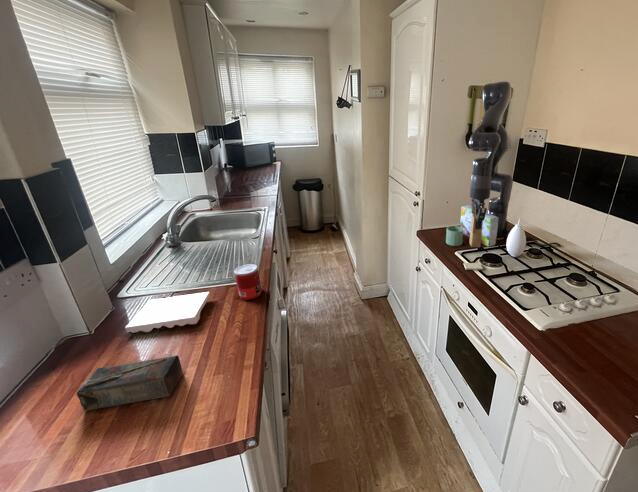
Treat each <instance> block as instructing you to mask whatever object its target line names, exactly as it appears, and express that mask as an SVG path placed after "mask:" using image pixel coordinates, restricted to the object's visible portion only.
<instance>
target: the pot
mask: <svg viewBox="0 0 638 492" xmlns="http://www.w3.org/2000/svg"><path fill="white" fill-rule="evenodd" d="M445 230H446V233H445V243H446V244H447V245H448V246H451V247H459V246H461V245H463V243H464V242H463V241H464V234H463V231H464V229H463V228H462V227H460V225H449V226H447V227H446V228H445Z"/></svg>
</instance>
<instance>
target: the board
mask: <svg viewBox="0 0 638 492" xmlns="http://www.w3.org/2000/svg"><path fill="white" fill-rule="evenodd" d="M462 265H463V267H464V269H465V271H483V270H484V268H483V266H482V264H481V263H480V262H463V264H462Z"/></svg>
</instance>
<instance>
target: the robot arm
mask: <svg viewBox="0 0 638 492" xmlns="http://www.w3.org/2000/svg"><path fill="white" fill-rule="evenodd" d="M481 93H482V94H481V95H482V105H483V112H484V113H483V114H482V116H481V119H480V123H479V125H478V127H477V128H476V129H475V130H474V131H473V133H472V134H471V136H470V138H469V142H468V146H469V148H470V150H471V151H472V152H476V153H477V152H481V153H486V155H485V156H483V157H476V158H473V159H474V160H473V161H472V169H471V170H472V171H471V176H470V177H471V178H470V184H469V187H470V188H469V197H470V198H471V200H470V201H471V207H472V213H473V214H476V223H475V229H481V224H482V221H484V219H485V215H486V213H489V214H491V215H494V216H496V217H498V227H497V236H496V241H501V240H507V236H508V235H509V233H510V231H511V230H512V229H510V228H509V226H508V223H509V222H508V220H507V218H508V212H509V211H508V210H509V204H510V200H511V194H512V189H513V185H514V184H513V183H514V178H513V176H512V175H511V174H508V173H501V172H499V171H498V170H499V169H498V167H499V163H500V161H501V160H502V159H503V157H504V156H505V154H506V153H507V150H508V147H509V135H508V131H507V130H506V128H505V127H504V125H503V124H502V123H501V120H502V117H503V115H504V113H505V111H506V110H507V107H508V106H509V103H510V101H511V98H512V86H511V83H510V82H509V81H504V80H503V81H497V82H490V83H485V84H484V85H483V86H482V92H481ZM491 191H492V192H496V193H499V196H494V197H491ZM490 197H491V198H490ZM486 200H488V205H487V207H486V203H485V201H486ZM474 208H475V209H474ZM480 216H481V217H480ZM526 240H533V241H534V243H535V244H536V245H537V246H540V247H548V246H553V245H556V246H558V247H562V245H561V244H560V243H559V242H549V243H545V244H544V243H539V242H538V241H537V239H536V238H534V237H531V236H526ZM558 243H559V244H558Z"/></svg>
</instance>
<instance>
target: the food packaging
mask: <svg viewBox="0 0 638 492" xmlns="http://www.w3.org/2000/svg"><path fill="white" fill-rule="evenodd" d="M210 297H211V293H210V291H204V292H203V291H202V292H196V293H190V294H181V295H175V296H168V297H162V298H154V299H149V300H148V301H147V302H146V303H145V304H144V306H143V307H142V308H141V309H140V310H139V311H138V312H137V313H136V314H135V316H134V317H133V318H132V319H131V320H130V321H129V323H128V324H127V325H125V331H126V333H127V334H128V333H133V334H134V333H138V332H145V333H149V332H151V331H152V330H153V329H154V328H155V329H160V328H161V327H167V328H169V329H170V328H174V327H175V326H179V327H184V326H185V325H197V323H198V322H199V320H200V319H201V313H202V310H203V308H204V307H205V305H206V303H207V302H208V300H209V298H210Z"/></svg>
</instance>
